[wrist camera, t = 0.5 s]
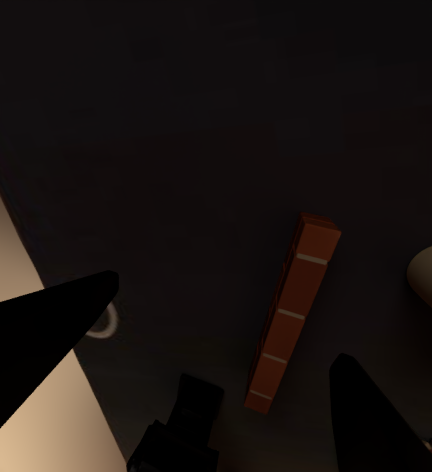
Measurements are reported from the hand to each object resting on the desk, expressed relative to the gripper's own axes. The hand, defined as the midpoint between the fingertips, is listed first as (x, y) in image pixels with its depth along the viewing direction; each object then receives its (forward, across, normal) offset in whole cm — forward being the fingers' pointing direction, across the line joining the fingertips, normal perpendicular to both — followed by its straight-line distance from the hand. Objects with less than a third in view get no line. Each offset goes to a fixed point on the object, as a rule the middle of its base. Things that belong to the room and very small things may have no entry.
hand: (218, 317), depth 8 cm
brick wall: (+14, -6, +10) cm, 18 cm away
